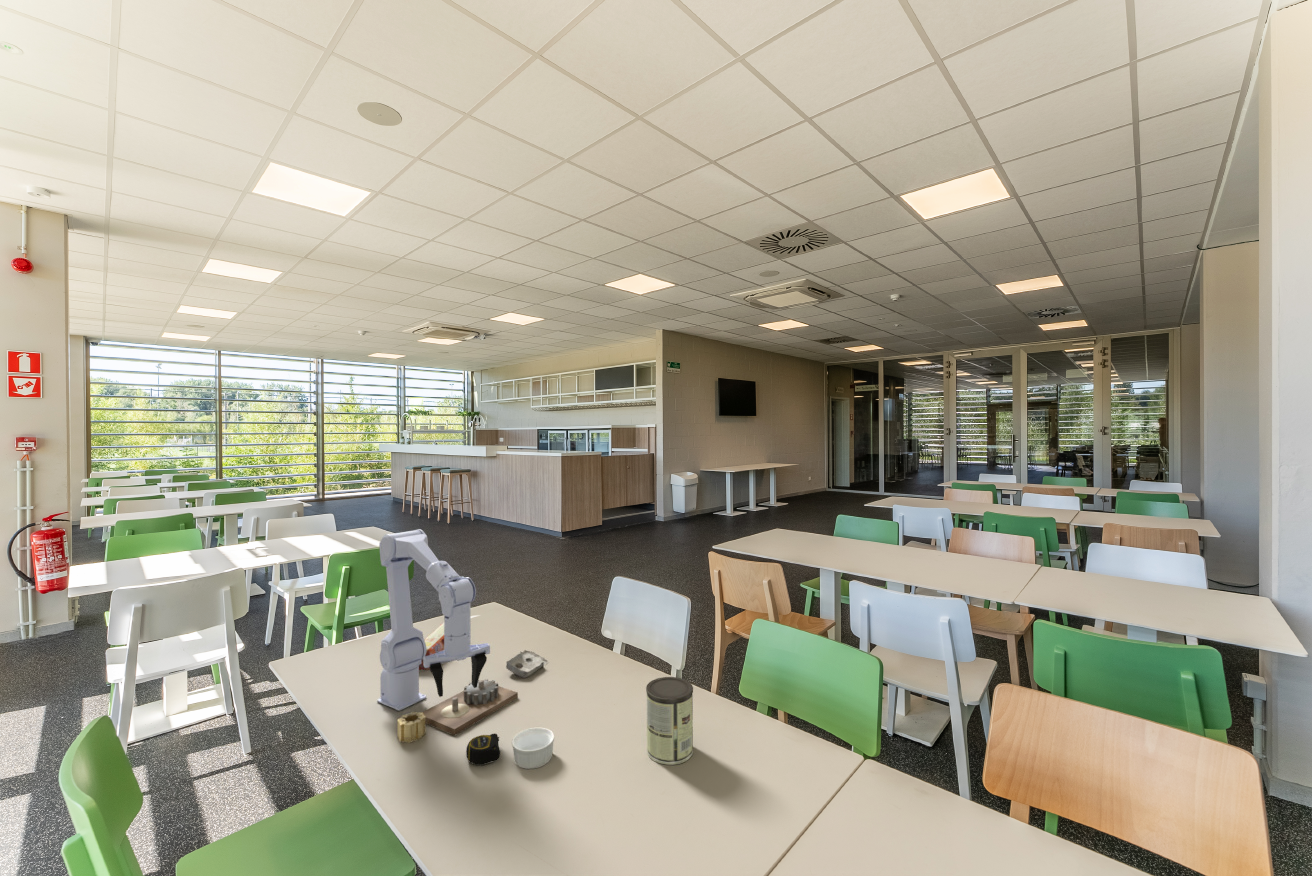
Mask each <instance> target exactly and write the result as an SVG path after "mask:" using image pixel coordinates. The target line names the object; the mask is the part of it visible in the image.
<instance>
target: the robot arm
mask: <svg viewBox="0 0 1312 876" xmlns="http://www.w3.org/2000/svg"><path fill="white" fill-rule="evenodd" d="M428 540H429V538H428V536H427V534H426V532H425V531H424V530H422V529H420V528H418V529H414V530H409V531H401V532H396V533H386V534H383V536H382V538H381V539H380V541H379V545H378V546H379V556H380V565H381V567H386V568H385V569H386V570H385V571H386V579H387V581H386V582H387V590H388V605H389V614H390V616H389V617H390V627H391V629H390V631H389V632H388V634H387V635H386V636H384V637H383V638H382V640H381V641H380V651H379V653H380V654H379V660H380V661H379V662H380V666H381V667H382V668H383V669H382V671H381V672H380V677H379V678H380V680H379V681H380V683H379V684H380V688H379V689H380V690H379V691H380V698H377V701H376V702H377V703H380V704H382V705H384V706H387V707H390V708H392V709H394V710H396V711H399V712H400V711H402V710H404V709H406V708H408V707H411V706H412V705H414V704H417V703H419V702H421V701H423V700H425V699H427V695H426V694H423V693H420V682H419V681H420V671H419V665H420V664H421V660H422V659H423V665H424V667H425V668H429V670H430V672H431V674H432V677H433V679H434V682H435V686H436V691H437V695H438V697H439V698H441V697H443V695H444V688H443V687H444V686H443V682H444V681H443V678H444V668H443V667H442V664H444V663H449V662H452V661H453V662H454V661H458V662H459V661H464V660H466V659H467V658H470V659H471V662H470V663H471V683H472V686H473V687H474V688H476V687H477V684H478V680H479V679H480V676H481V673H482V671H483V668H484V666H485V664H486V663H487V655H489V654H491V645H490V644H489V642H485V643H480V644H479V643H476V644H471V637H472V636H471V630H472V629H471V622H472V621H471V617H472V615H471V609H472V608H471V603H472V602H474V600H475V598H476V596H477V589H476V585H475V583H474V581H473V580H472V578H471V577H468V576H467V577H466V576H465V577H464V575H463V576H460V574H459V573H457V572H456V571H455V570H456V569H455V570H454V568H453V567H452V566H451V565H450V564H449V563H448V561H445V560H439V559H438V557H437V556H436V555H435V553H434V552H433V551H432V549H431V548H430V546H429V542H428ZM412 561H415V562H416V563H417V564H418V565H419V566H420V567H421V568H423V569H424V571H426V572H425V578H426V580H427V581H428V582H429V583H430V585H431V586H432V587H433V588H434V589H435V590H436V591H437V593H438V600H439V603H440V606H441V613H442V615H443V618H444V619H443V621H444V622H443V623H444V650H443V651H440V652H437V653H435V654H432V655H429V656H425V655H426V643H425V641H424V640H425V638H424V633H423V631H421V630H420V629H418V628H416V627H415V626H414V623H413V612H412V601H411V600H412V599H411V590H410V579H409V566H410V565H411V563H412Z"/></svg>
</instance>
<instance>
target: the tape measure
mask: <svg viewBox="0 0 1312 876" xmlns="http://www.w3.org/2000/svg"><path fill="white" fill-rule="evenodd" d="M499 741H500V736H498V734H497V733H491V734H481V735H478V736H475V737H473V738H471V739H470V740H469V742H468V743H467V745H466V751H465V755H466V756H465V757H466V759H467V761H468V762H469V763H470V764H472V765H475V766H476V765H477V766H484V765H486V764H490V763H493V762H496V761H498V760H499V759H500V758H501V750H500V747H499V746H500V745H499Z"/></svg>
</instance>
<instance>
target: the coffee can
mask: <svg viewBox="0 0 1312 876" xmlns="http://www.w3.org/2000/svg"><path fill="white" fill-rule="evenodd" d="M645 691H646V754H647V756H648V758H650V759H651V760H652V761H653V762H655V763H658V764H660V765H665V766H667V765H669V766H673V765H679V764H682V763H685V762H687V761H688V760H689V759H690V758H691V757H692V756H693V754H694V748H693V745H694V744H693V742H694V741H693V739H694V738H693V737H694V735H693V732H694V730H693V725H694V723H693V719H694V718H693V713H694V712H693V698H694V695H693V693H694V687H693V684H692V682H690V681H688V680H686V679H684V678H680V677H675V676H665V677H658V678H655V679H653V680H650V681H649V682H648V683H647V684H646V686H645Z"/></svg>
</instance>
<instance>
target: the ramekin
mask: <svg viewBox="0 0 1312 876" xmlns="http://www.w3.org/2000/svg"><path fill="white" fill-rule="evenodd" d="M554 741H555V734H554V732H553V731H552V730H551V729H549V728H546V727H540V726H539V727H538V726H537V727H531V728H526V729H523V730H521V731H519V732H518V733H516V735H514V736H513V738H512V740H511V746H512V750H513V758H514V763H515V764H516V765H517V767H519V768H522V769H525V770H533V769H536V768H537V769H538V768H540V767H543V766H545V765H546V764H547V763H549V761H550V760H551V759H552V757H553V751H554V750H553V749H554Z"/></svg>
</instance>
